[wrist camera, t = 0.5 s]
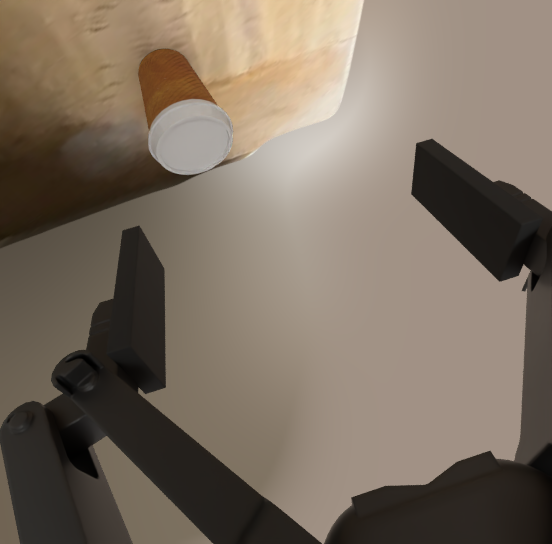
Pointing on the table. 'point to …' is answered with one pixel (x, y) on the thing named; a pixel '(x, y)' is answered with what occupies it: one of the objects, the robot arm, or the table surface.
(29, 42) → the table surface
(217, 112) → the disposable coffee cup
